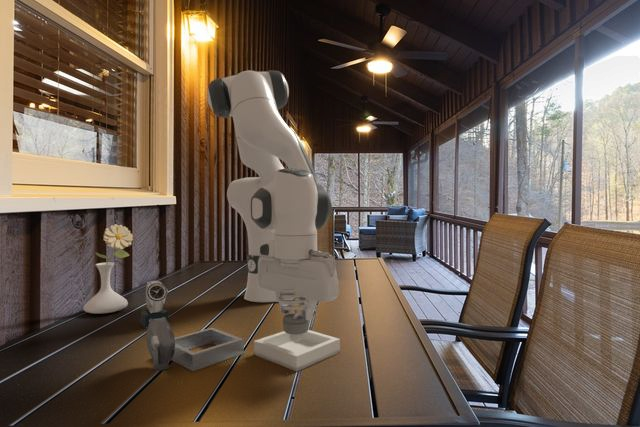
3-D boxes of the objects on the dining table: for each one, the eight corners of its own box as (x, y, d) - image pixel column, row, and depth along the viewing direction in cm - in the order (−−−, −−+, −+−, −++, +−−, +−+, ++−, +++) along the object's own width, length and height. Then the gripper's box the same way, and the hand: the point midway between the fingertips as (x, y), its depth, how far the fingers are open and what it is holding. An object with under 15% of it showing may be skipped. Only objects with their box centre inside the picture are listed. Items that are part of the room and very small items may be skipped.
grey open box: (212, 340, 90) (211, 300, 90) (243, 353, 83) (243, 309, 82) (141, 362, 79) (140, 315, 78) (169, 379, 71) (168, 327, 71)
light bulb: (282, 338, 85) (282, 281, 84) (308, 337, 85) (308, 280, 85) (282, 347, 79) (281, 286, 79) (310, 346, 80) (310, 286, 79)
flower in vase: (82, 319, 108) (79, 226, 107) (84, 309, 118) (82, 224, 117) (135, 312, 114) (133, 224, 113) (133, 303, 124) (131, 222, 123)
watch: (147, 330, 98) (146, 285, 98) (139, 322, 105) (138, 280, 105) (170, 325, 102) (169, 282, 101) (161, 318, 108) (160, 277, 108)
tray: (297, 338, 91) (297, 326, 91) (340, 352, 83) (339, 338, 83) (254, 354, 82) (253, 340, 82) (296, 371, 74) (296, 356, 73)
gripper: (345, 251, 77) (345, 322, 77) (274, 243, 91) (275, 304, 91) (323, 254, 72) (323, 330, 73) (252, 246, 86) (253, 310, 87)
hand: (296, 316), depth 82 cm, fingers closed on light bulb, 5 cm apart
